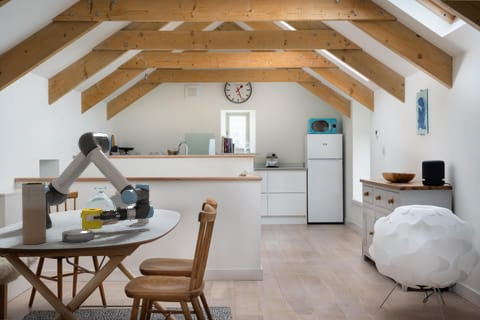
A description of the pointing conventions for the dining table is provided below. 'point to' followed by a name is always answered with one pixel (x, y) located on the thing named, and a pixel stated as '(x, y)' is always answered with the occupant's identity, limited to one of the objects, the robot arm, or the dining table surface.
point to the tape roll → (93, 223)
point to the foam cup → (144, 219)
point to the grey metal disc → (77, 236)
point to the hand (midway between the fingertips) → (83, 216)
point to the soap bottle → (118, 200)
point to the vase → (33, 213)
